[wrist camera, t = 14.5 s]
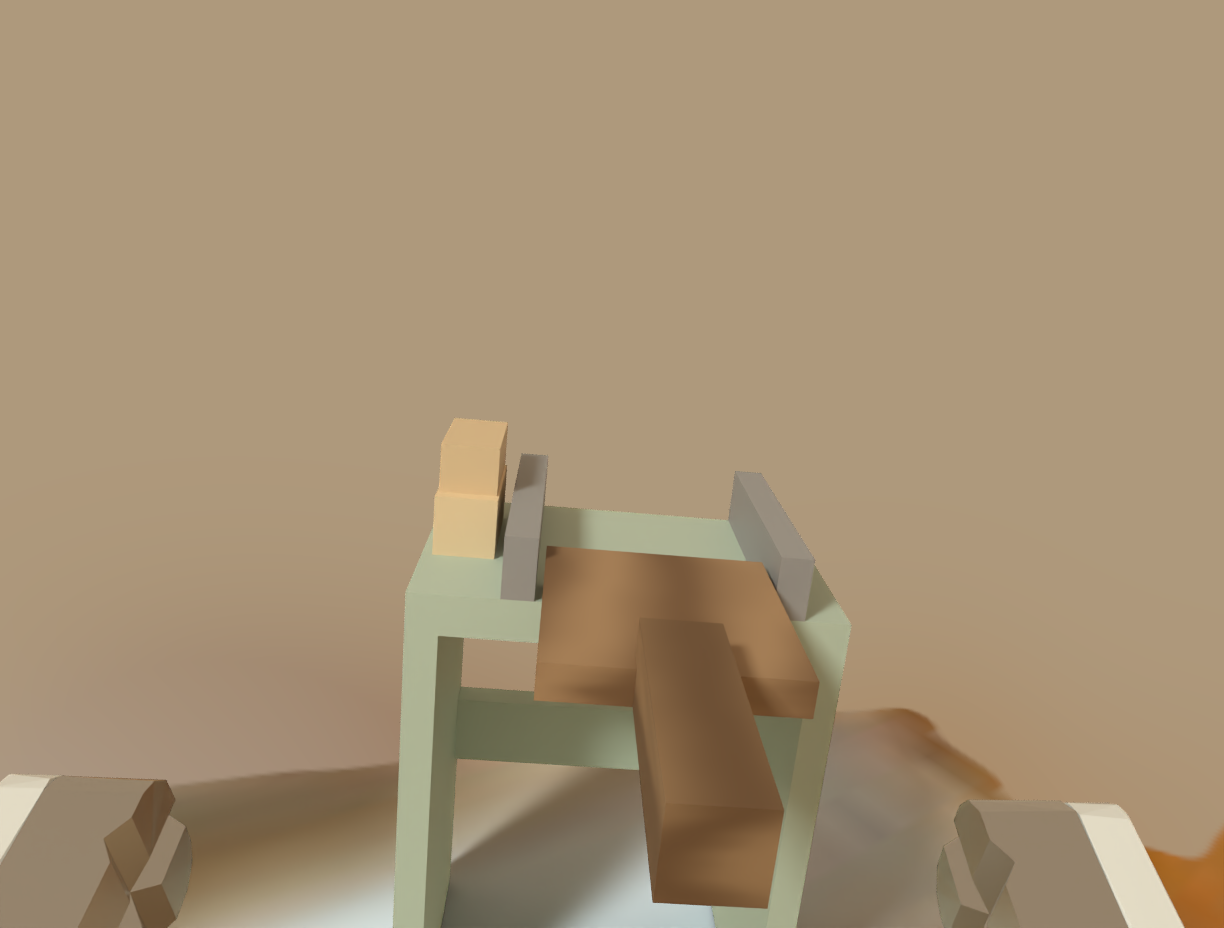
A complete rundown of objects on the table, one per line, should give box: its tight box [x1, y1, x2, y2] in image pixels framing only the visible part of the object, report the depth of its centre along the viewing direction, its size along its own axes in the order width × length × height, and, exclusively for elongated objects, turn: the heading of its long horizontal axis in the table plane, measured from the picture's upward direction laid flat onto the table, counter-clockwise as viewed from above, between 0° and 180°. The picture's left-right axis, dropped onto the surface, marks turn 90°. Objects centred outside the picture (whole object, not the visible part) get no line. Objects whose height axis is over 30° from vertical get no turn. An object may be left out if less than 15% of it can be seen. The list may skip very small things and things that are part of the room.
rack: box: [393, 418, 851, 928], centre depth 51 cm, size 20×13×31 cm, turn 92°
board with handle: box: [534, 546, 820, 909], centre depth 34 cm, size 10×20×3 cm, turn 2°
